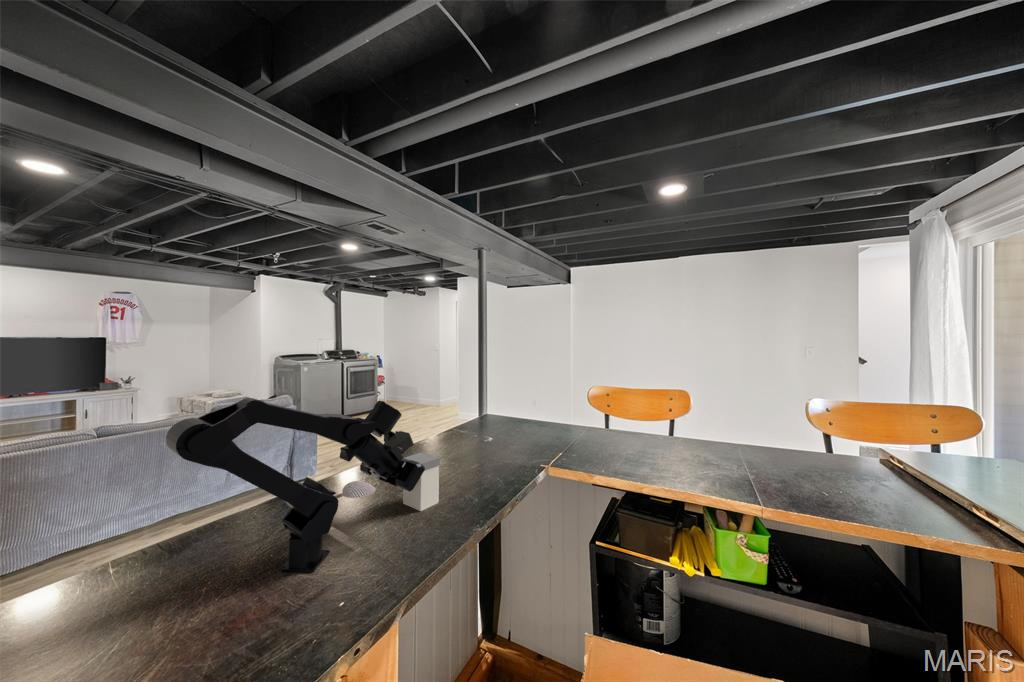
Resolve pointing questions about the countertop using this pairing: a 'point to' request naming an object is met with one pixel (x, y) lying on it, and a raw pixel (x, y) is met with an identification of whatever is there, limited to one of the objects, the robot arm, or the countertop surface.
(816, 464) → the countertop surface
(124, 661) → the countertop surface
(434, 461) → the lidded box
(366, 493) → the seashell
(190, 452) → the robot arm
